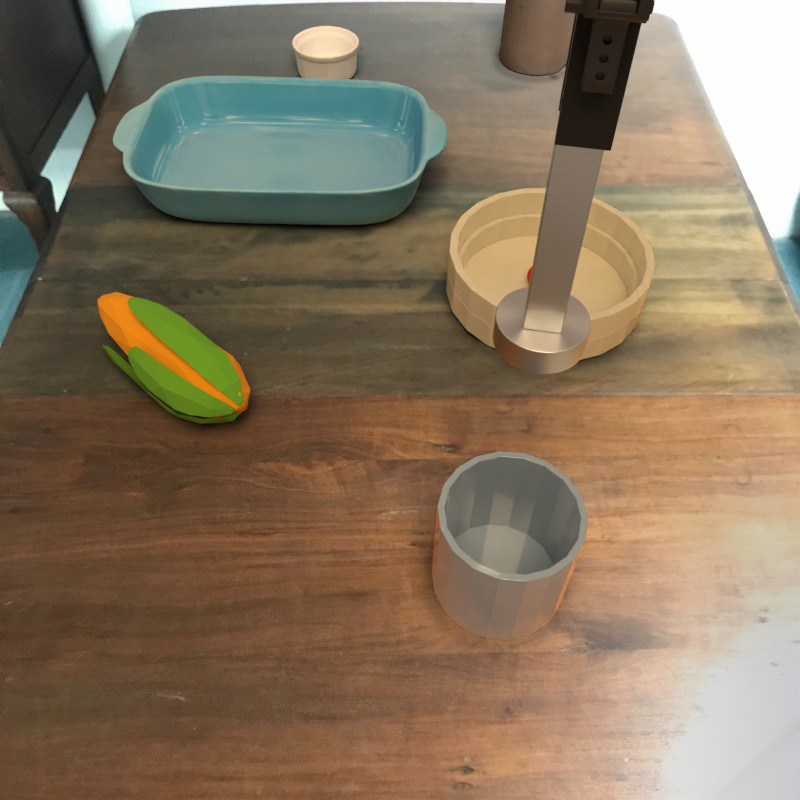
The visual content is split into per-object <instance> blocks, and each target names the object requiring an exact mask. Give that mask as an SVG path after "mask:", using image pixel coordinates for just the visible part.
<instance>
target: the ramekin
mask: <svg viewBox="0 0 800 800" xmlns="http://www.w3.org/2000/svg"><path fill="white" fill-rule="evenodd" d="M291 46H292V49H293V50H294V55H295V60H296V68H297V71H298V74H299V75H300V78H324V79H352V78H353V77H354V76H355V74H356V72H357V66H358V50H359V47H360V39H359V37H358V36H357V34H356V33H354V32H353V31H351V30H349V29H347V28H343V27H341V26H334V25H317V26H313V27H309V28H306V29H303V30H301V31H300V32H299V33H297V34H296V35H295V36H294V37H293V38H292V45H291Z"/></svg>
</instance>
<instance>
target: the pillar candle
mask: <svg viewBox="0 0 800 800" xmlns="http://www.w3.org/2000/svg"><path fill="white" fill-rule="evenodd" d="M565 3H566V0H505V3H504V11H503V18H502V27H501V35H500V45H499V49H498V58H499V61H500V63H502V65H504V66H505V67H506V68H507V69H509V70H510V71H513V72H516V73H519V74H522V75H523V74H524V75H529V76H544V75H552V74H556V73H558V72H560V71H561V70H562V68H564V66H566V63H567V57H568V51H569V46H570V40H571V34H572V29H573V23H574V17H575V13H564V10H565Z"/></svg>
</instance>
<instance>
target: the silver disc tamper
mask: <svg viewBox="0 0 800 800" xmlns="http://www.w3.org/2000/svg"><path fill="white" fill-rule="evenodd" d="M576 18H577V17H576ZM575 24H576V23H575ZM574 30H575V28H574ZM573 35H574V34H573ZM572 41H573V40H572ZM571 47H572V45H571ZM570 52H571V51H570ZM569 58H570V57H569ZM568 63H569V62H568ZM567 69H568V68H567ZM566 75H567V73H566ZM565 80H566V79H565ZM564 86H565V85H564ZM563 92H564V90H563ZM562 97H563V96H562ZM561 103H562V102H561ZM560 109H561V107H560ZM559 114H560V112H559ZM559 114H558V115H559ZM558 120H559V118H558V119H557V121H558ZM557 125H558V123H557V124H556V126H557ZM556 131H557V129H556ZM556 131H555V132H556ZM555 137H556V135H555ZM555 137H554V138H555ZM604 152H605V150H598V149H589V148H580V147H571V146H562V145H555V140H554V142H553V148H552V152H551V153H552V154H551V158H550V164H549V168H548V169H549V170H548V174H547V175H548V176H547V182H546V187H545V188H546V192H545V198H544V203H543V209H542V215H541V220H540V226H539V232H538V237H537V243H536V248H535V254H534V260H533V265H532V271H531V277H530V282H529V287H525V288H521V289H518V290H515V291H513V292H511V293H509V294H508V295H507V296H505V297H504V298H503V299H502V300H501V302H500V303H499V305H498V307H497V310H496V314H495V322H494V329H493V343H494V346H495V348H496V349H495V348H494V349H495V350H496V353H498V356H500V358H501V359H503V360H504V361H505V362H506V363H508V364H509V365H510V366H512V367H514V368H516V369H518V370H519V371H523V372H527V373H530V374H536V375H553V374H558V373H561V372H564V371H566V370H569V369H571V368H572V367H575V365H576V364H577V363H579V361H581V360H580V359H581V357H582V356H583V354H584V351H585V348H586V344H587V340H588V337H589V333H590V329H591V319H590V315H589V313H588V311H587V309H586V308H585V306H584V305H583V304H582V303H581V302H580V301H579V300H578V299H576V298H575V297H574V296H572V295H570V294H571V290H572V285H573V281H574V277H575V272H576V268H577V264H578V260H579V255H580V251H581V247H582V242H583V238H584V234H585V230H586V225H587V221H588V217H589V213H590V208H591V204H592V200H593V198H594V196H595V191H596V186H597V182H598V177H599V174H600V170H601V165H602V160H603V156H604Z"/></svg>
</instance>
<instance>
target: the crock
mask: <svg viewBox="0 0 800 800" xmlns="http://www.w3.org/2000/svg"><path fill="white" fill-rule="evenodd" d="M436 507H437V508H436V517H435V518H436V519H435V527H434V528H435V529H434V537H433V538H434V539H433V549H432V550H433V551H432V560H431V579H432V586H433V592H434V595H435V596H436V599H437V601H438V603H439V605H440V606H441V608H442V610H443V612H444V613H445V614H446V615H447V616H448V617H449V618H450V619H451V620H452V621H453V622H454V623H455V624H457V625H458V626H459V627H460V628H461V629H463V630H465V631H467V632H469V633H471V634H473V635H476V636H478V637H481V638H484V639H488V640H489V639H490V640H495V641H512V640H518V639H521V638H524V637H527V636H531V635H533V634H535V633H536V632H537V631H540V630H541V629H542V628H543V627H544V626H545V625H547V624H548V623H550V621H551V620H552V618H553V617H554V616H555V614H556V612H557V611H558V609H559V607H560V606H561V604H562V601H563V599H564V596H565V594H566V591H567V589H568V587H569V584H570V581H571V579H572V576H573V574H574V571H575V568H576V566H577V563H578V561H579V559H580V556H581V553H582V551H583V549H584V545H585V543H586V541H587V540H586V539H587V532H588V524H589V516H588V512H587V509H586V505H585V502H584V497H583V495H582V494H581V493H580V491H579V490H578V488H577V487H576V485H575V484H574V483H573V481H572V479H570V477H569V476H568V475H566V474H565V473H564V472H562V470H560V469H558V468H557V467H556V466H555V465H553V464H552V463H551V462H549V461H548V460H545V459H543V458H539V457H537V456H535V455H531V454H528V453H525V452H515V451H502V450H501V451H500V450H499V451H495V452H490V453H485V454H479V455H478V456H477V455H476V456H474V457H473V458H471V459H470V460H468V461H466V462H465V463H463V464H461V465H459V466H458V467H456V468H455V470H454V471H453V472H452V473H451V475H450V476H449V478H447V480H446V481H445V482H444V484H443V485H442V488H441V491H440V496H439V499H438V503H437V506H436Z"/></svg>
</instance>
